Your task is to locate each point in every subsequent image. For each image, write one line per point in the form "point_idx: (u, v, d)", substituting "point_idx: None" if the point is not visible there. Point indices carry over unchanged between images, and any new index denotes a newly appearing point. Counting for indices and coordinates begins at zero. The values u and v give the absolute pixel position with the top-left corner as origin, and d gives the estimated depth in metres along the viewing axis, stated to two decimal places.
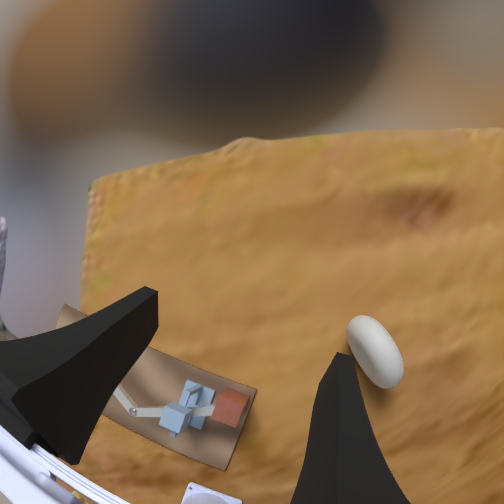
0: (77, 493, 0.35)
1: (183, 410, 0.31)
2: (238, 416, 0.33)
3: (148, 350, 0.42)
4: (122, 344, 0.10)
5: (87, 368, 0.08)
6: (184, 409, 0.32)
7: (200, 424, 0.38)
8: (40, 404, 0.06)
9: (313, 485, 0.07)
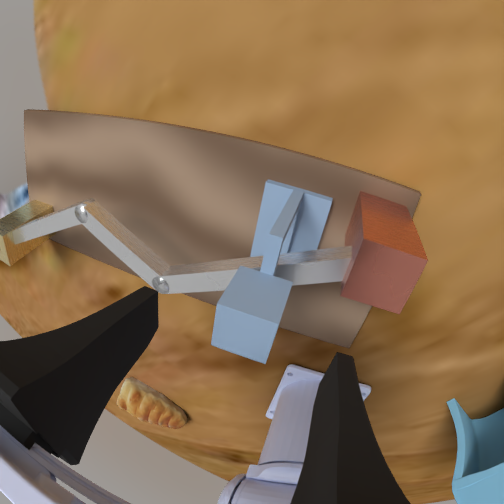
0: (130, 383, 0.35)
1: (271, 299, 0.13)
2: (409, 289, 0.13)
3: (172, 133, 0.19)
4: (122, 344, 0.10)
5: (87, 368, 0.08)
6: (272, 291, 0.13)
7: None
8: (40, 404, 0.06)
9: (313, 485, 0.07)
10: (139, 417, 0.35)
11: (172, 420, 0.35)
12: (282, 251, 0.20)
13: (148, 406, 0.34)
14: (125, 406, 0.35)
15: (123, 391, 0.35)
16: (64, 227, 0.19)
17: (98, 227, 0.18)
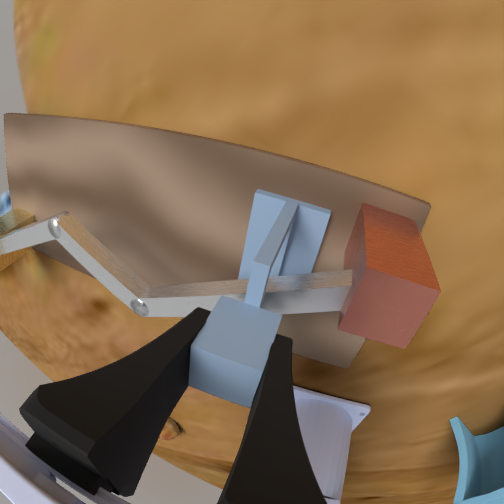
0: None
1: (255, 339, 0.11)
2: (418, 323, 0.11)
3: (152, 137, 0.17)
4: (181, 371, 0.10)
5: (152, 402, 0.08)
6: (257, 327, 0.11)
7: None
8: (111, 450, 0.06)
9: (234, 464, 0.07)
10: None
11: (163, 432, 0.33)
12: (274, 269, 0.18)
13: None
14: None
15: None
16: (39, 242, 0.17)
17: (72, 243, 0.16)
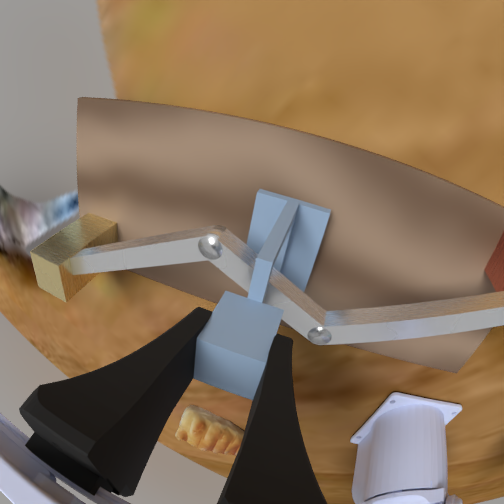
0: (192, 413, 0.32)
1: (258, 332, 0.11)
2: None
3: (320, 147, 0.16)
4: (181, 371, 0.10)
5: (152, 402, 0.08)
6: (260, 321, 0.12)
7: None
8: (111, 450, 0.06)
9: (234, 464, 0.07)
10: (202, 448, 0.31)
11: None
12: (275, 267, 0.18)
13: (215, 436, 0.30)
14: (185, 438, 0.32)
15: (184, 422, 0.31)
16: (173, 262, 0.15)
17: (239, 267, 0.14)
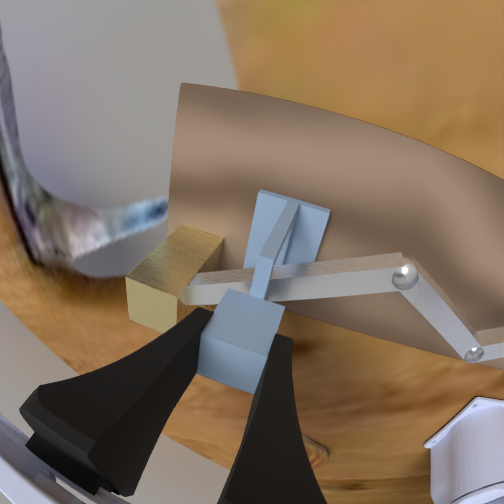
0: None
1: (260, 328, 0.11)
2: None
3: (472, 173, 0.14)
4: (181, 371, 0.10)
5: (152, 402, 0.08)
6: (262, 317, 0.12)
7: None
8: (112, 451, 0.06)
9: (234, 464, 0.07)
10: None
11: (317, 461, 0.29)
12: None
13: None
14: None
15: None
16: (354, 293, 0.13)
17: (428, 296, 0.12)
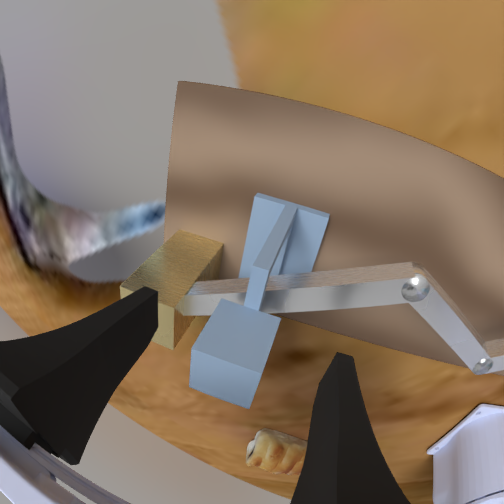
0: (267, 437, 0.28)
1: (254, 342, 0.11)
2: None
3: (482, 178, 0.13)
4: (122, 344, 0.10)
5: (87, 368, 0.08)
6: (256, 330, 0.11)
7: None
8: (40, 404, 0.06)
9: (313, 485, 0.07)
10: (277, 472, 0.28)
11: None
12: (273, 272, 0.18)
13: (294, 458, 0.27)
14: (258, 463, 0.28)
15: (260, 448, 0.28)
16: (361, 305, 0.12)
17: (439, 308, 0.12)
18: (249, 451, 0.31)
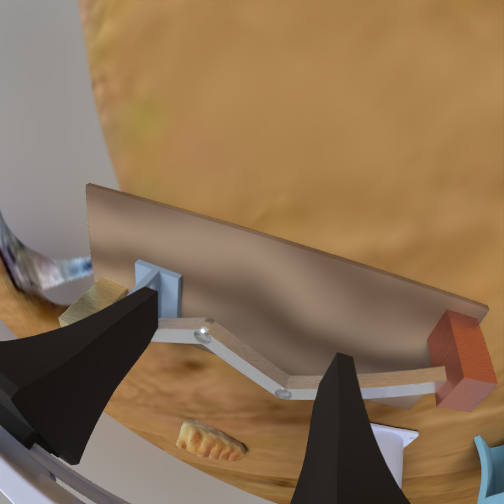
0: (189, 425, 0.36)
1: None
2: (481, 399, 0.15)
3: (288, 251, 0.21)
4: (122, 344, 0.10)
5: (87, 368, 0.08)
6: None
7: None
8: (40, 404, 0.06)
9: (313, 485, 0.07)
10: (199, 455, 0.36)
11: (232, 454, 0.35)
12: None
13: (209, 444, 0.35)
14: (185, 446, 0.36)
15: (183, 433, 0.36)
16: (176, 341, 0.20)
17: (223, 350, 0.19)
18: None
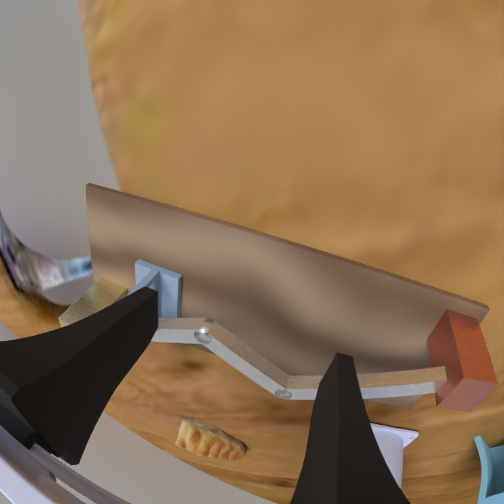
0: (188, 424, 0.36)
1: None
2: (481, 399, 0.15)
3: (288, 251, 0.21)
4: (122, 344, 0.10)
5: (87, 368, 0.08)
6: None
7: None
8: (40, 404, 0.06)
9: (313, 485, 0.07)
10: (199, 454, 0.36)
11: (232, 453, 0.35)
12: None
13: (208, 443, 0.35)
14: (184, 445, 0.36)
15: (182, 432, 0.36)
16: (176, 341, 0.20)
17: (223, 350, 0.19)
18: None
